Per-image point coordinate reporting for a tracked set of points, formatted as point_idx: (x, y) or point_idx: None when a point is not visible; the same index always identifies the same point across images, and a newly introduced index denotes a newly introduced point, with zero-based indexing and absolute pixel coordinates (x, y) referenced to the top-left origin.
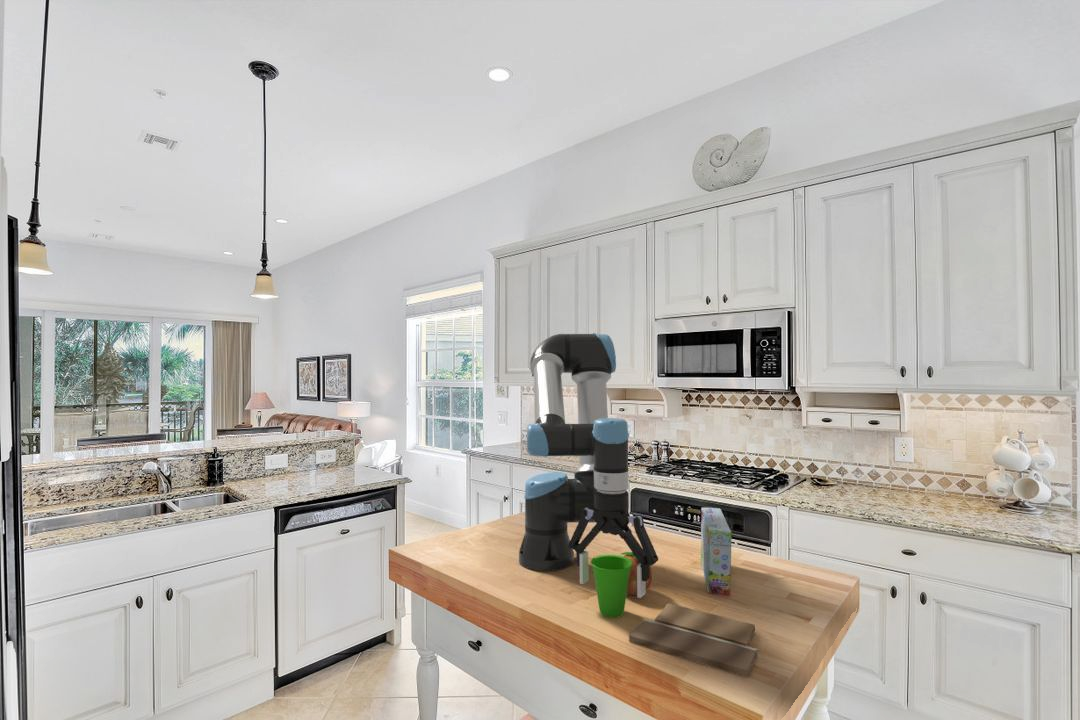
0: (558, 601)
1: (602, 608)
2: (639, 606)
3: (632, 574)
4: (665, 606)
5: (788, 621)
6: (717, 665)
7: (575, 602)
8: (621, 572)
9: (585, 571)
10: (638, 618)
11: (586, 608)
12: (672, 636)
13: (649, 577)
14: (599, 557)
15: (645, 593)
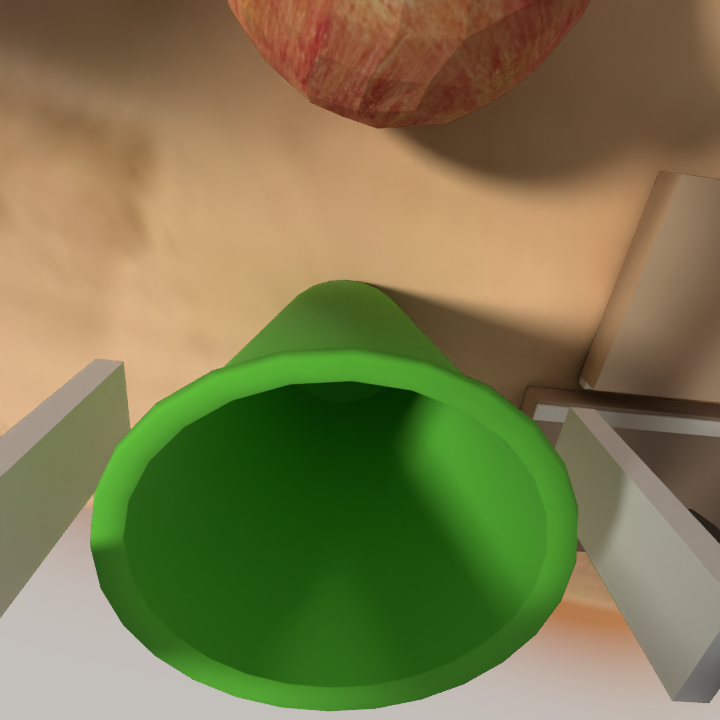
0: (22, 343)
1: (312, 416)
2: (474, 199)
3: (448, 107)
4: (659, 229)
5: None
6: None
7: (110, 314)
8: (476, 626)
9: (84, 452)
10: (490, 342)
11: (203, 353)
12: (669, 489)
13: None
14: (133, 485)
15: (593, 410)
